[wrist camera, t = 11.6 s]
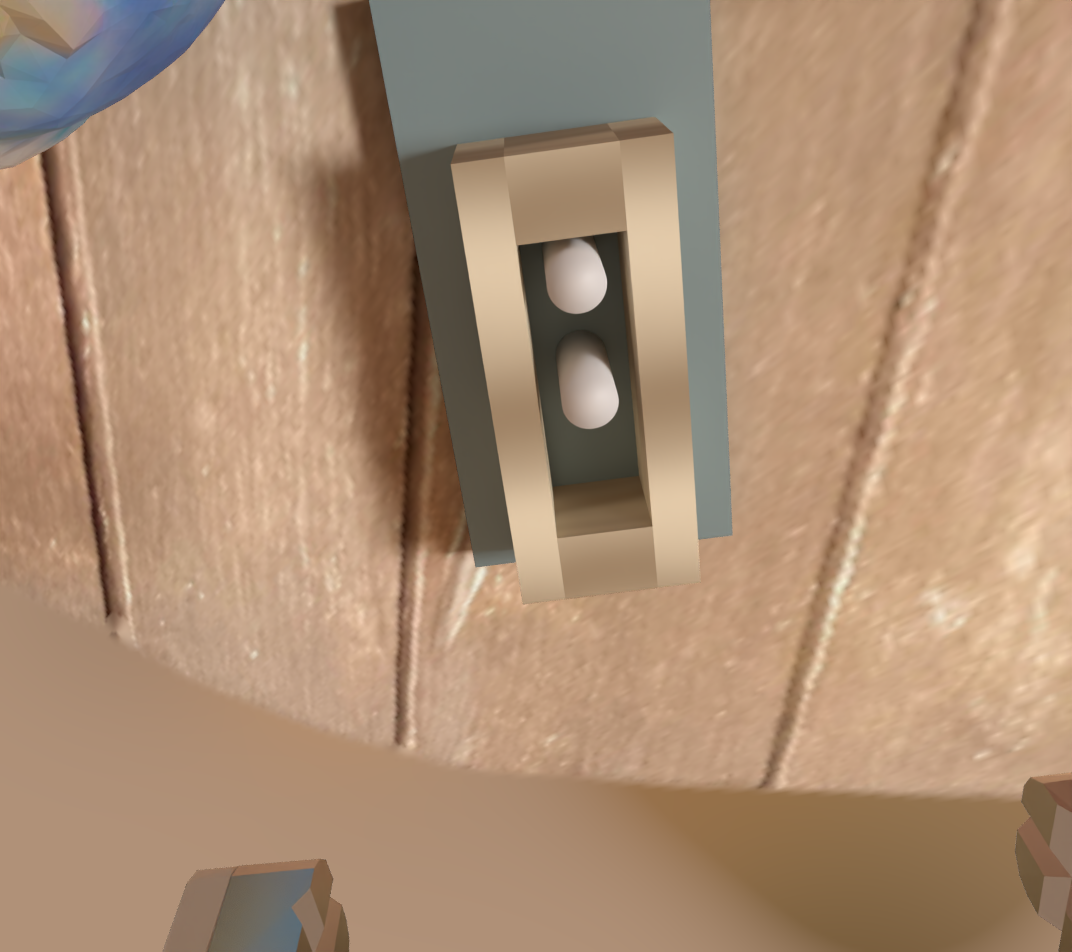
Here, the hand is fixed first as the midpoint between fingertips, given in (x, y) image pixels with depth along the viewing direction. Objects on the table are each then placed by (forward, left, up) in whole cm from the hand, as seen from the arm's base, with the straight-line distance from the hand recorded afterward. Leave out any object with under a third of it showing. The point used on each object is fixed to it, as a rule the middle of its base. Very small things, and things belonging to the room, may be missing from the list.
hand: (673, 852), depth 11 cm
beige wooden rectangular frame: (0, 0, -17) cm, 17 cm away
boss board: (-1, 0, -18) cm, 18 cm away
